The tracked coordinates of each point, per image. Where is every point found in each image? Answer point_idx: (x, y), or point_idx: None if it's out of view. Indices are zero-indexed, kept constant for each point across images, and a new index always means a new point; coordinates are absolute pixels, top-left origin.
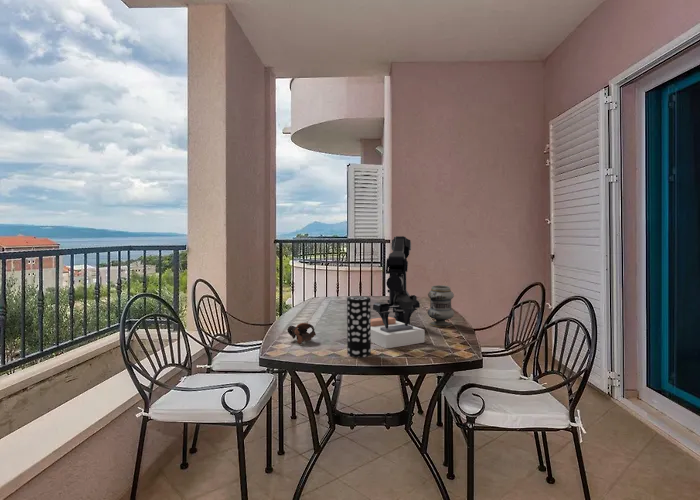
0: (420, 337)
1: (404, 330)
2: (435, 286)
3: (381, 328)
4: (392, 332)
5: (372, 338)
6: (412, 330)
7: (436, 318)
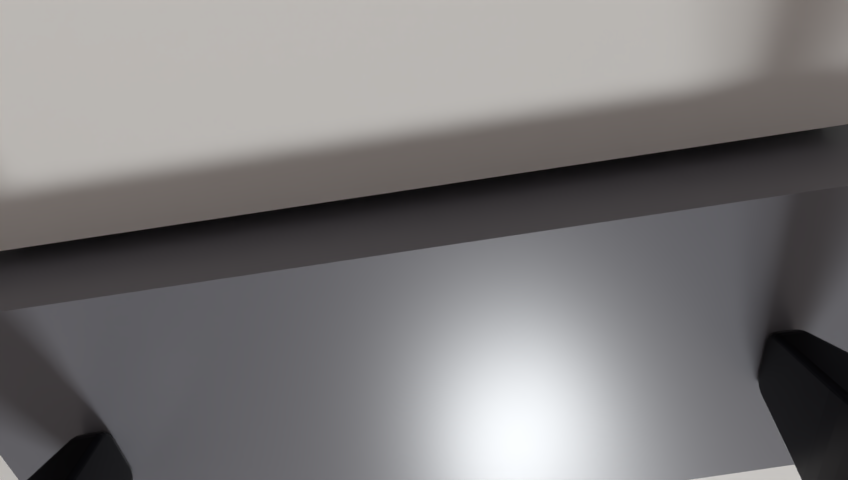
0: None
1: (284, 178)
2: None
3: None
4: (775, 68)
5: None
6: (5, 88)
7: None
